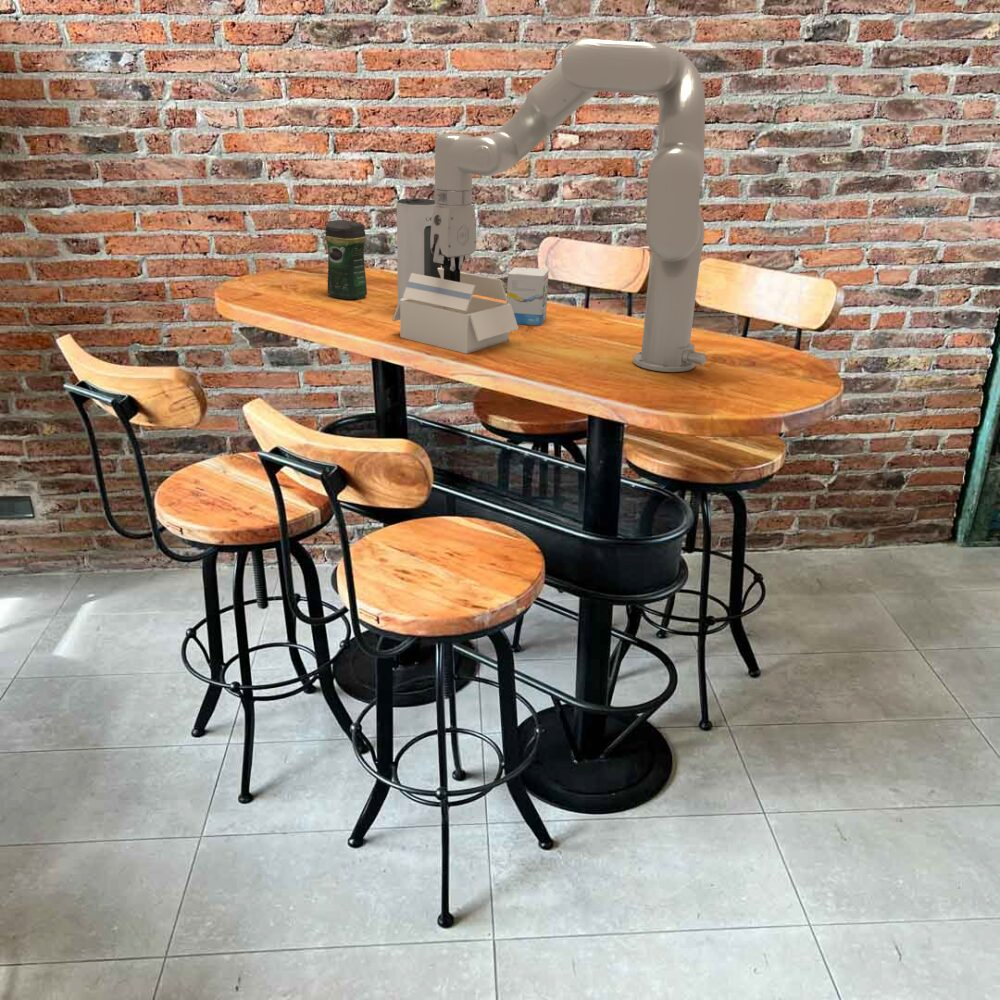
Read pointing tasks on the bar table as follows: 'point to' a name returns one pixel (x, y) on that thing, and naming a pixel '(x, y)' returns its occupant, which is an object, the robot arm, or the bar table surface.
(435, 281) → the front flap
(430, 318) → the carton
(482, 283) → the back flap
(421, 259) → the speaker
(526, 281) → the ink box
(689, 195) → the robot arm
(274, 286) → the bar table surface
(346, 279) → the coffee jar
